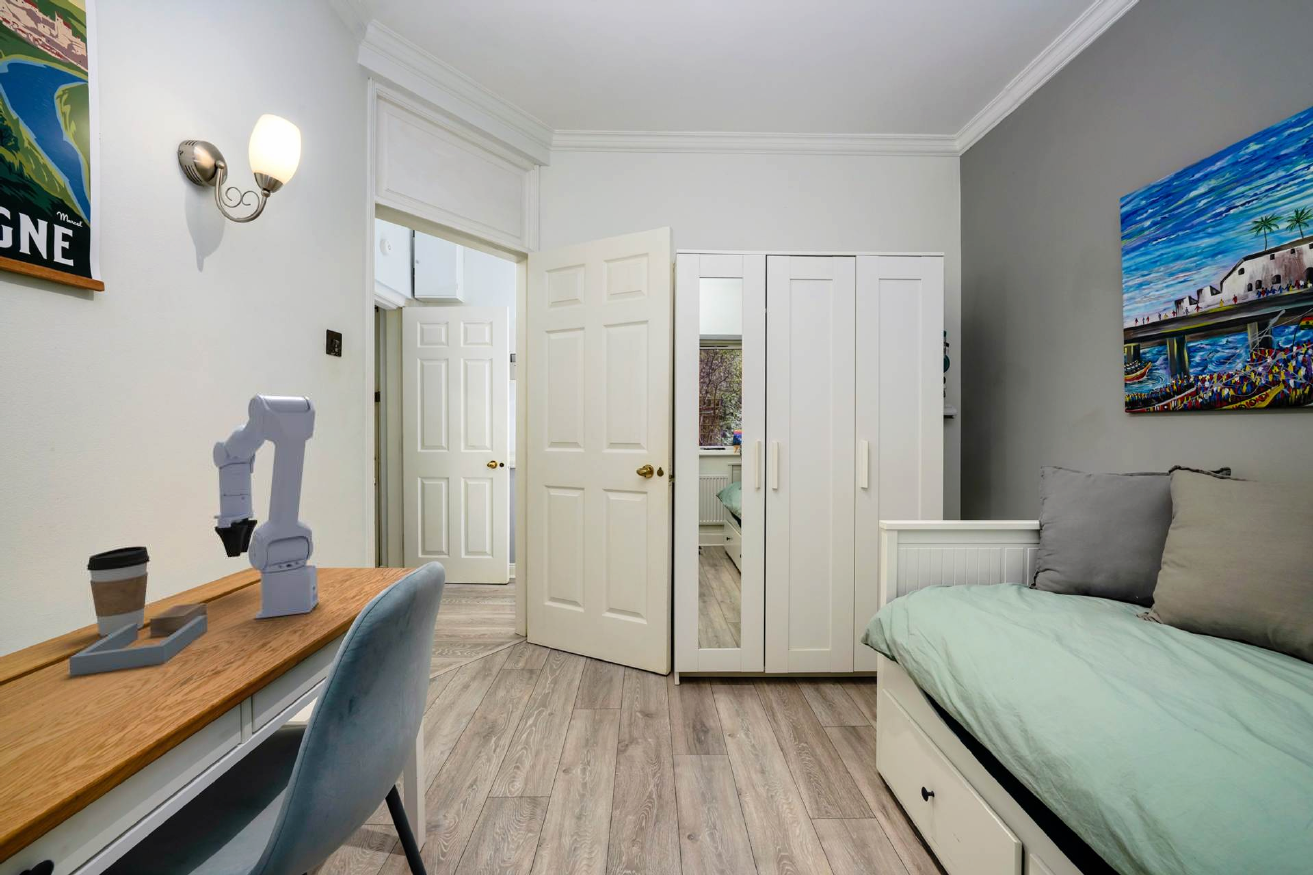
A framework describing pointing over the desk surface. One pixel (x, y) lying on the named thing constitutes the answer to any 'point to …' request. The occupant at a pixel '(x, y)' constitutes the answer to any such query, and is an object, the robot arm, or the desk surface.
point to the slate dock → (133, 649)
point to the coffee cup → (119, 587)
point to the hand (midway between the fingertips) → (237, 554)
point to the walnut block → (175, 618)
